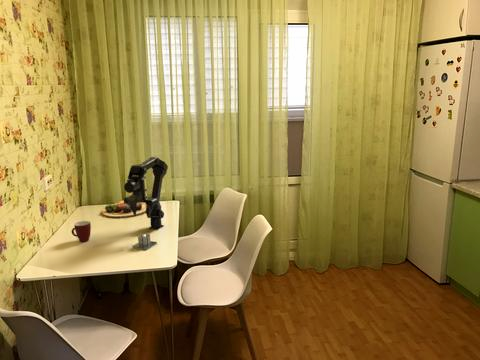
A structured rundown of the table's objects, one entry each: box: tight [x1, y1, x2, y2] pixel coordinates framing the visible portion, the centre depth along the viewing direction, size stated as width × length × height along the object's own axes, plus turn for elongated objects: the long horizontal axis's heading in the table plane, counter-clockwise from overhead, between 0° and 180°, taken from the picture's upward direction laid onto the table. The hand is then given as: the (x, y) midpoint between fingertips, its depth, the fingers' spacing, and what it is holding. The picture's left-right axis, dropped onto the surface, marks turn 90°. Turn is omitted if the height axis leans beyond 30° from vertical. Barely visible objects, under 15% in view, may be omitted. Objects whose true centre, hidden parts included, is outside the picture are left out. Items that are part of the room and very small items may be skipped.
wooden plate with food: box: [100, 199, 147, 219], centre depth 266 cm, size 32×32×8 cm
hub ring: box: [137, 233, 152, 246], centre depth 204 cm, size 6×6×4 cm
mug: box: [71, 220, 92, 243], centre depth 213 cm, size 10×8×10 cm
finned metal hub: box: [131, 233, 158, 251], centre depth 204 cm, size 9×9×6 cm
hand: (141, 215), depth 216 cm, fingers open, 9 cm apart
